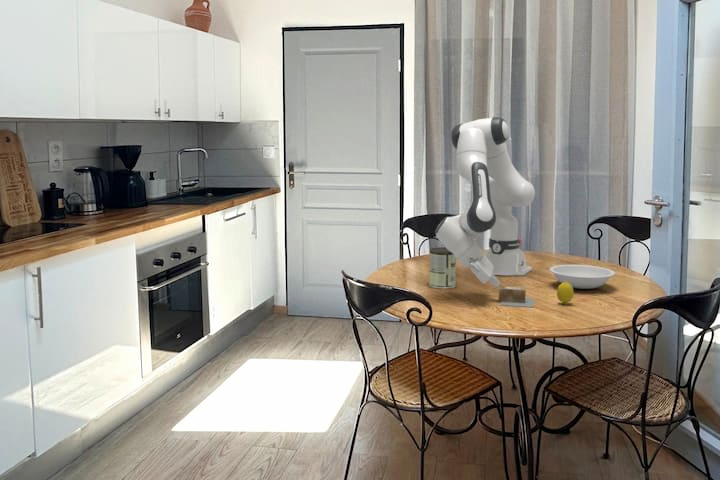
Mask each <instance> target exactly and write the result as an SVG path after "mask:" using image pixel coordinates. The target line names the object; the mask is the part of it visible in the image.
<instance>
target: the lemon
mask: <svg viewBox="0 0 720 480" xmlns="http://www.w3.org/2000/svg"><path fill="white" fill-rule="evenodd" d="M556 296H557V299H558V300H559V302H561V303H562V304H563V305H566V304H568V303H569V302H571V301H572V300H573V298H574V288H573V287H572V286H571V285H570V284H569V283H567V282H564V283H560V284H559V285H558V287H557V290H556Z"/></svg>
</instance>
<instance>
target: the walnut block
mask: <svg viewBox="0 0 720 480" xmlns="http://www.w3.org/2000/svg"><path fill="white" fill-rule="evenodd" d="M526 291H527V290H526V287H524V286H523V287H522V286H521V287H520V286H504V285H503V286H501V285H499V286H498V302H499V303H501V302H516V303H525V297H526V295H527V293H526Z"/></svg>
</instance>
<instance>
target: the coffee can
mask: <svg viewBox="0 0 720 480" xmlns="http://www.w3.org/2000/svg"><path fill="white" fill-rule="evenodd" d="M428 286H429V287H430V288H434V289H443V290H444V289H445V290H447V289H454V288H455V287H456V286H457V259H456V258H455V256H454V255H453V253H452V252H450V251H448V250H447V249H446V248H445V246H444V247H443V246H442V247H441V246H440V247H432V248H429V284H428Z"/></svg>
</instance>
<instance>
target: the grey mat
mask: <svg viewBox="0 0 720 480" xmlns="http://www.w3.org/2000/svg"><path fill="white" fill-rule="evenodd" d="M499 306H501V307H502V306H503V307H518V308H519V307H521V308H534V297H532V296H531V297H530V296H525V303H516V302H500V305H499Z"/></svg>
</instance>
